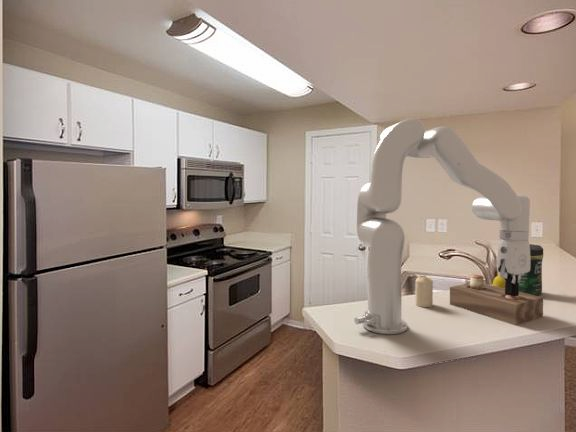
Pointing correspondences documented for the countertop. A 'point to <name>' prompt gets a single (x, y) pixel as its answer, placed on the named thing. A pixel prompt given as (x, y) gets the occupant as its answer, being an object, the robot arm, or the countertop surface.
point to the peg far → (476, 282)
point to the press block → (497, 303)
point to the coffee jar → (533, 272)
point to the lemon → (499, 282)
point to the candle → (424, 292)
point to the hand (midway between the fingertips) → (511, 294)
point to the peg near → (513, 297)
